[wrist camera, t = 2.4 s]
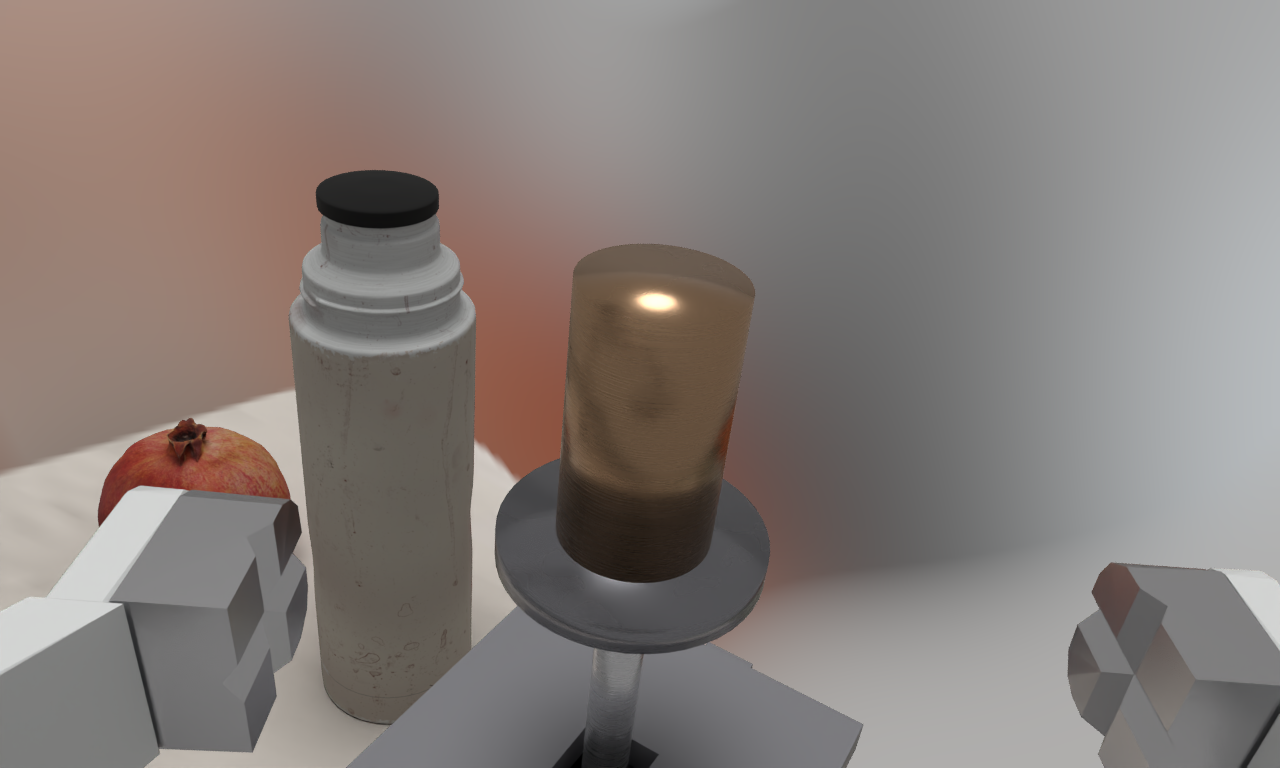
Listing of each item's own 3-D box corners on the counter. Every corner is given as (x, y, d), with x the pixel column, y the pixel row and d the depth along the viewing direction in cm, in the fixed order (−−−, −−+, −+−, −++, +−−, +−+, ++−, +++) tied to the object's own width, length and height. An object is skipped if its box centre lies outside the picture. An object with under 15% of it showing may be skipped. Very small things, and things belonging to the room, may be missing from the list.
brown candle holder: (655, 1060, 26) (779, 473, 16) (367, 857, 30) (326, 286, 20) (803, 786, 33) (949, 275, 24) (558, 654, 37) (597, 169, 27)
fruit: (94, 547, 61) (61, 410, 55) (257, 496, 66) (241, 367, 61) (145, 658, 54) (112, 514, 49) (322, 591, 59) (310, 455, 54)
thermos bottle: (443, 600, 60) (442, 147, 45) (491, 696, 54) (506, 212, 39) (308, 637, 56) (259, 159, 42) (343, 745, 50) (300, 232, 36)
